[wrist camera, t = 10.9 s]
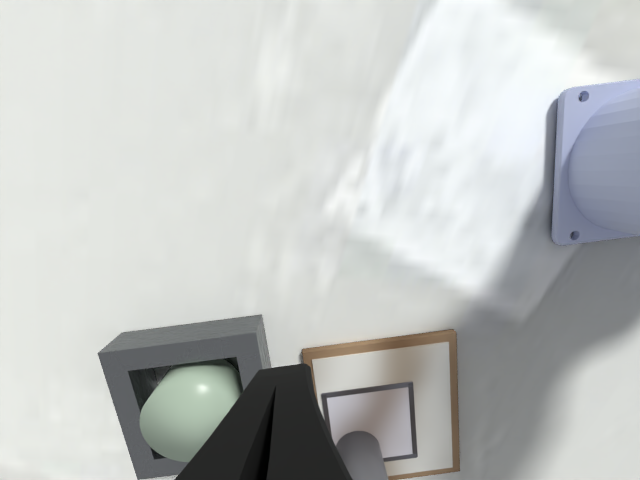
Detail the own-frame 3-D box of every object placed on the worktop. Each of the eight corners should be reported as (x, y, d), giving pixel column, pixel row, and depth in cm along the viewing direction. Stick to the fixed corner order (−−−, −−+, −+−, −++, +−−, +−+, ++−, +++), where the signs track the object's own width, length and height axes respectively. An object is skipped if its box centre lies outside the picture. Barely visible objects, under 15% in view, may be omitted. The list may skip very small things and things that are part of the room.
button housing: (261, 314, 17) (255, 332, 15) (282, 431, 19) (279, 460, 17) (121, 332, 17) (97, 353, 15) (155, 448, 19) (137, 479, 17)
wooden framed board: (453, 329, 18) (457, 334, 17) (456, 465, 20) (461, 473, 19) (302, 349, 18) (302, 354, 17) (322, 483, 20) (323, 492, 19)
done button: (236, 348, 17) (223, 378, 15) (249, 416, 18) (240, 455, 16) (155, 359, 17) (129, 391, 15) (173, 426, 18) (151, 467, 16)
